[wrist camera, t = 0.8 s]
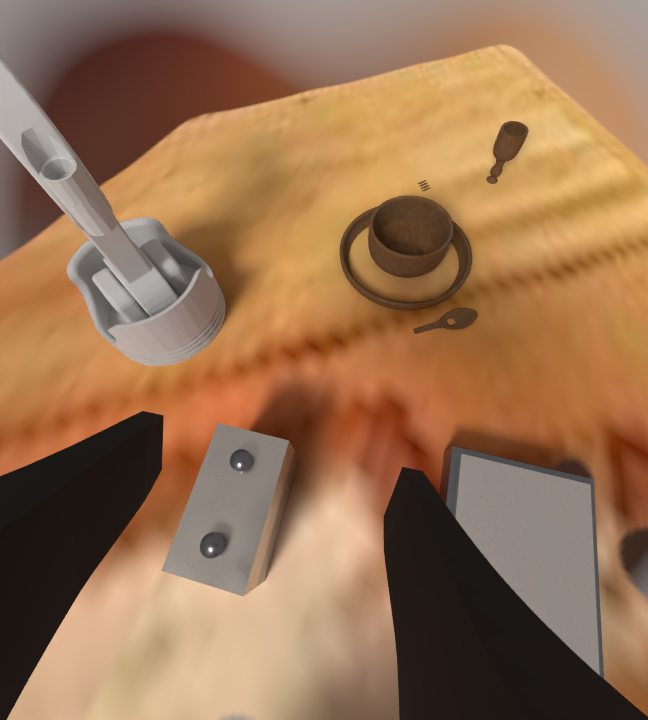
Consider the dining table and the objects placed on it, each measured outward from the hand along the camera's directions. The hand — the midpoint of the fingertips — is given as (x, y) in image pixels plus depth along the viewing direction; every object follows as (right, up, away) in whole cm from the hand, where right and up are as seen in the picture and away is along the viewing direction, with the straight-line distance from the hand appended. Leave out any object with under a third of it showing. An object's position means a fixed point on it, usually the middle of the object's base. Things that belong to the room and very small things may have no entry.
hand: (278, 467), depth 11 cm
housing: (-4, -7, +15) cm, 17 cm away
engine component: (-12, +7, +21) cm, 26 cm away
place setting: (+13, +14, +24) cm, 31 cm away
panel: (+13, -11, +12) cm, 21 cm away
